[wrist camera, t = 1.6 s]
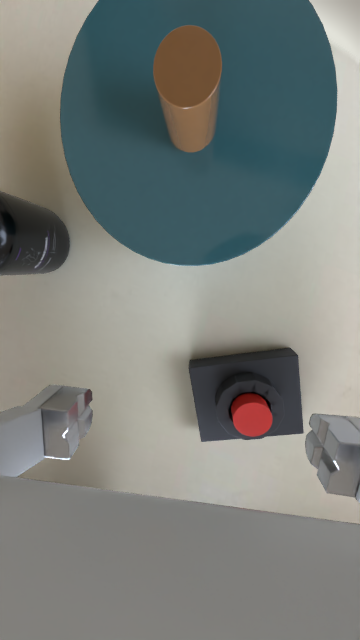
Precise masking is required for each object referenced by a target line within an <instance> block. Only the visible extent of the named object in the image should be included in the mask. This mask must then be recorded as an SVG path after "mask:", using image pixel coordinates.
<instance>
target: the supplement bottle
mask: <svg viewBox="0 0 360 640" xmlns="http://www.w3.org/2000/svg"><path fill="white" fill-rule="evenodd" d="M69 247H70V241H69V235H68V231H67V229H66V227H65V225H64V223H63V222H62V221H61V219H60V218H59V217H58V216H57V215H56V214H55V213H53V212H52V211H50V210H48V209H46V208H44V207H41V206H39V205H36V204H34V203H31V202H28V201H26V200H23V199H21V198H18V197H15V196H13V195H10V194H7V193H5V192H2V191H0V276H3V275H26V274H44V273H49V272H52V271H54V270H56V269H58V268H59V267H60V266H61V265H62V264H63V263H64V262H65V260H66V258H67V256H68V253H69Z"/></svg>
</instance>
